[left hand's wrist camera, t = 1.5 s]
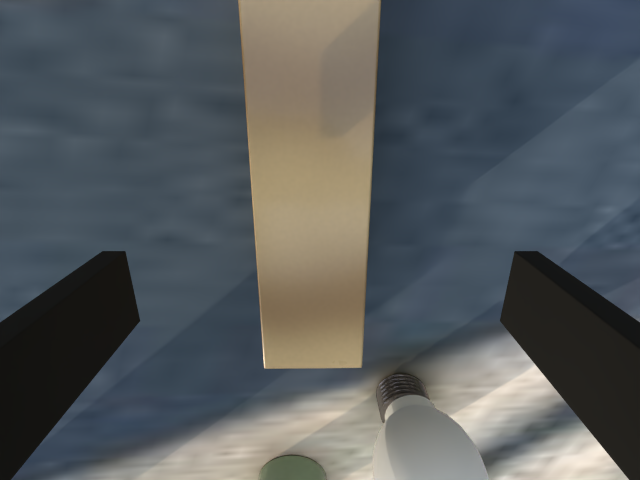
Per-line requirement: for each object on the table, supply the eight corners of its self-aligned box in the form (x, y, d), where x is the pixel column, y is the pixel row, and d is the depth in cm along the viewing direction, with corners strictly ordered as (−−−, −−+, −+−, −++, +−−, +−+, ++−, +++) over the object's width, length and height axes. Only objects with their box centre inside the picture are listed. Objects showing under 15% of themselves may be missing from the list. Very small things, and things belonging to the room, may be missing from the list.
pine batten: (346, 277, 25) (362, 368, 17) (281, 278, 25) (263, 369, 16) (360, -200, 16) (408, -519, 8) (260, -201, 16) (201, -524, 8)
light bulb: (343, 399, 29) (358, 566, 18) (400, 342, 27) (453, 494, 16) (406, 436, 30) (453, 609, 20) (464, 385, 28) (549, 548, 18)
